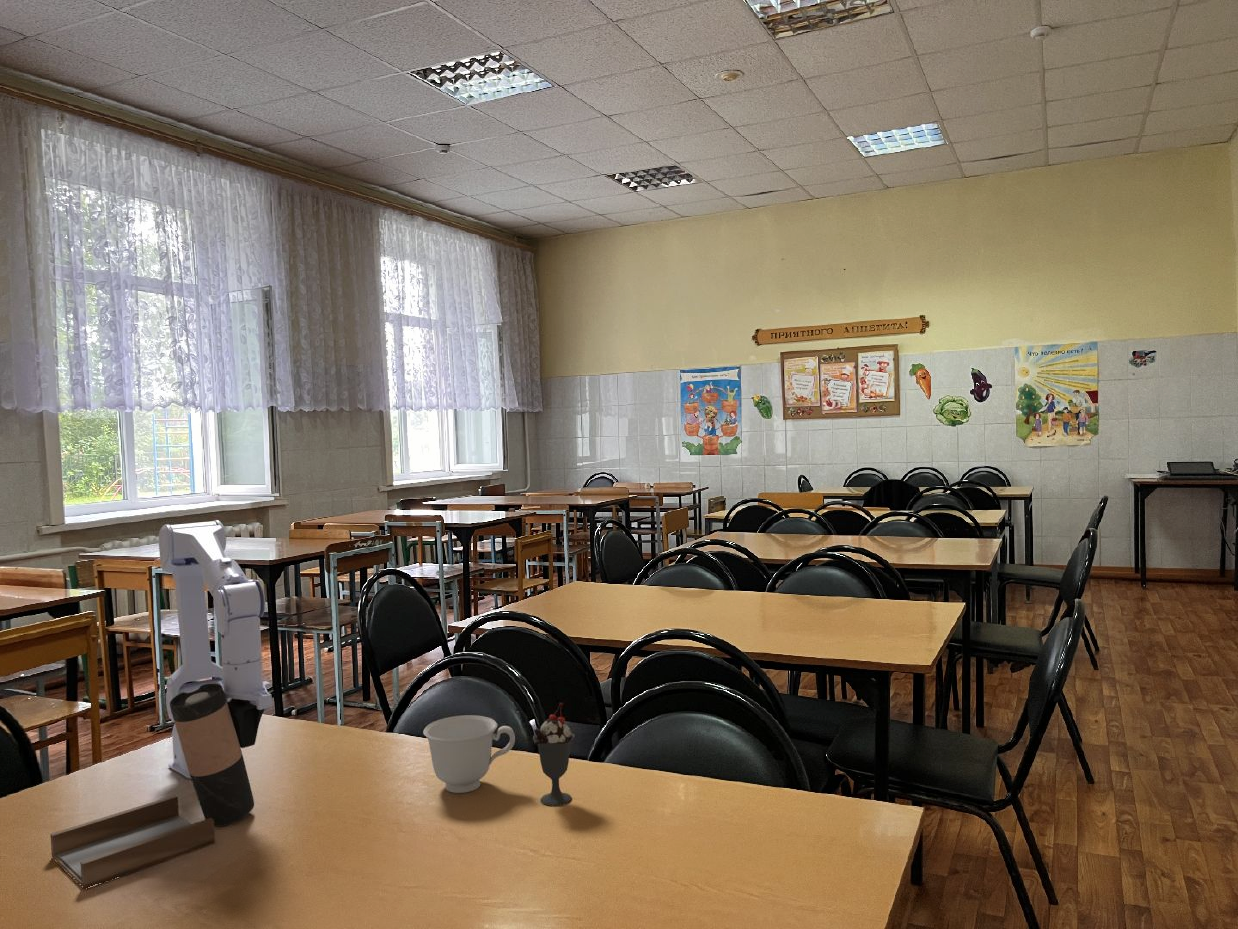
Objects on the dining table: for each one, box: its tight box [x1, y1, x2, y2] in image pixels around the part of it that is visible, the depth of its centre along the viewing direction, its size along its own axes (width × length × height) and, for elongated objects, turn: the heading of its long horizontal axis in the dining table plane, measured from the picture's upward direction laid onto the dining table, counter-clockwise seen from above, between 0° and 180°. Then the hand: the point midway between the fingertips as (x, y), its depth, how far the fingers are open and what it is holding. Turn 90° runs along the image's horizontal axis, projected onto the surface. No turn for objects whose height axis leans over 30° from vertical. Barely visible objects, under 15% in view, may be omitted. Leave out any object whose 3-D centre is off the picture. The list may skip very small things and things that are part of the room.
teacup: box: [422, 714, 516, 794], centre depth 148 cm, size 12×15×10 cm
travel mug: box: [170, 683, 255, 827], centre depth 137 cm, size 8×8×20 cm
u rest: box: [50, 794, 216, 890], centre depth 129 cm, size 14×17×4 cm
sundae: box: [532, 702, 576, 807], centre depth 142 cm, size 7×7×15 cm
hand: (246, 745), depth 141 cm, fingers closed, pressing on travel mug
